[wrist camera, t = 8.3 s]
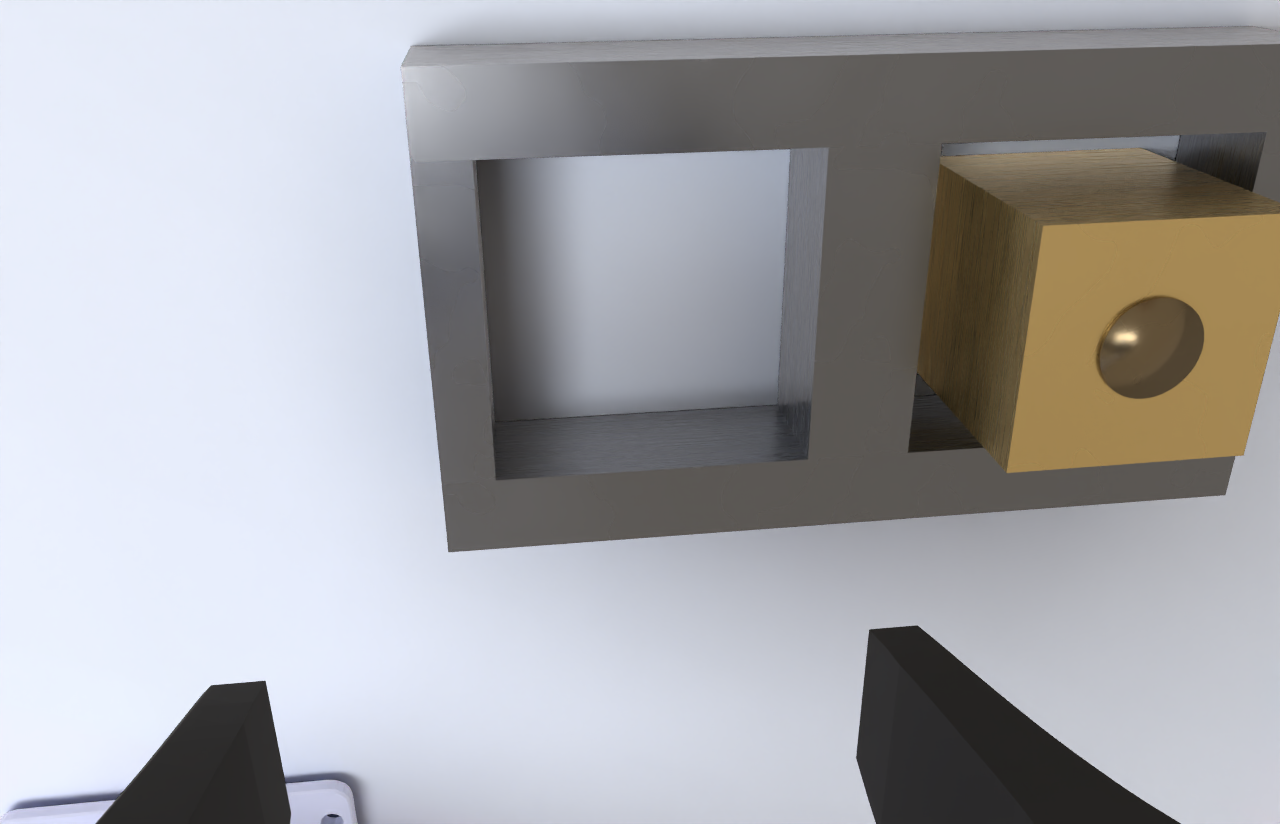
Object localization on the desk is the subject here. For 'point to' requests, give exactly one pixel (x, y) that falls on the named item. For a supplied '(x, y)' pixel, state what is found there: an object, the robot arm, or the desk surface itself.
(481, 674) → the desk surface
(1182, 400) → the nut block
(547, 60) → the grey metal flat frame
